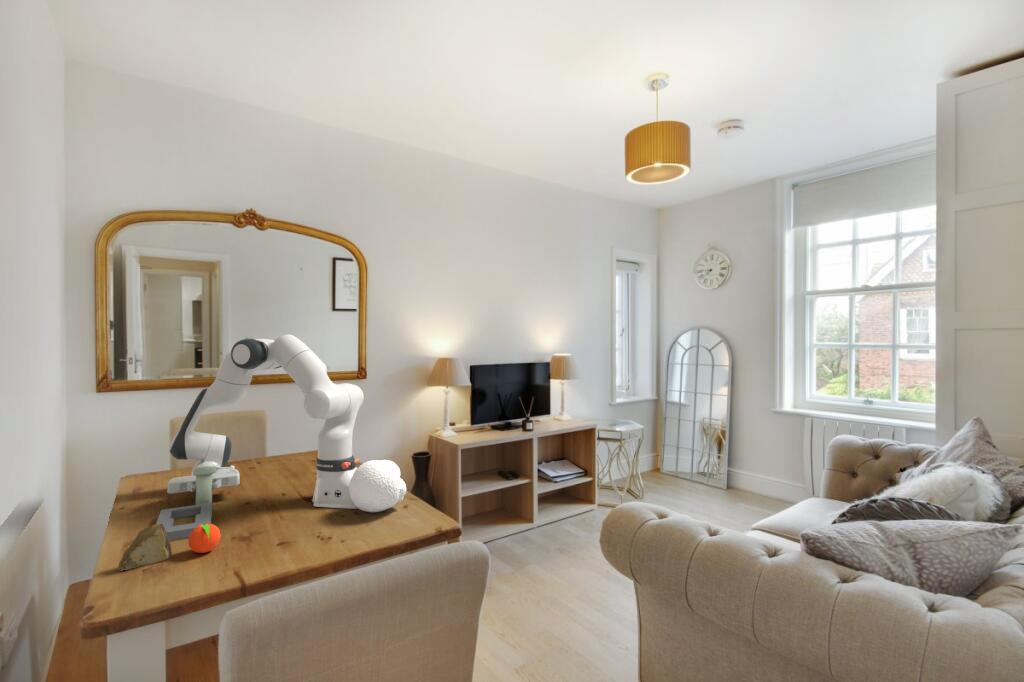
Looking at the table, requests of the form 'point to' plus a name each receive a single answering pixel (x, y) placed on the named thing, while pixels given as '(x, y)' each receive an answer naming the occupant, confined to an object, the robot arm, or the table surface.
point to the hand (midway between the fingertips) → (204, 488)
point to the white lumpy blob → (377, 486)
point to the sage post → (204, 484)
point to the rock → (147, 548)
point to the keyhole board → (184, 531)
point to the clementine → (204, 538)
